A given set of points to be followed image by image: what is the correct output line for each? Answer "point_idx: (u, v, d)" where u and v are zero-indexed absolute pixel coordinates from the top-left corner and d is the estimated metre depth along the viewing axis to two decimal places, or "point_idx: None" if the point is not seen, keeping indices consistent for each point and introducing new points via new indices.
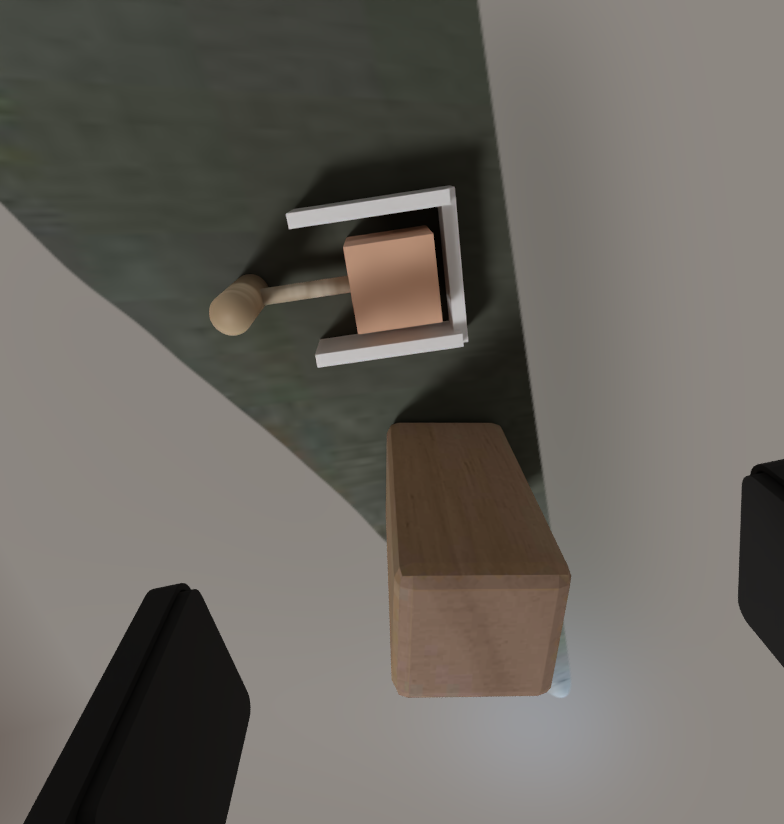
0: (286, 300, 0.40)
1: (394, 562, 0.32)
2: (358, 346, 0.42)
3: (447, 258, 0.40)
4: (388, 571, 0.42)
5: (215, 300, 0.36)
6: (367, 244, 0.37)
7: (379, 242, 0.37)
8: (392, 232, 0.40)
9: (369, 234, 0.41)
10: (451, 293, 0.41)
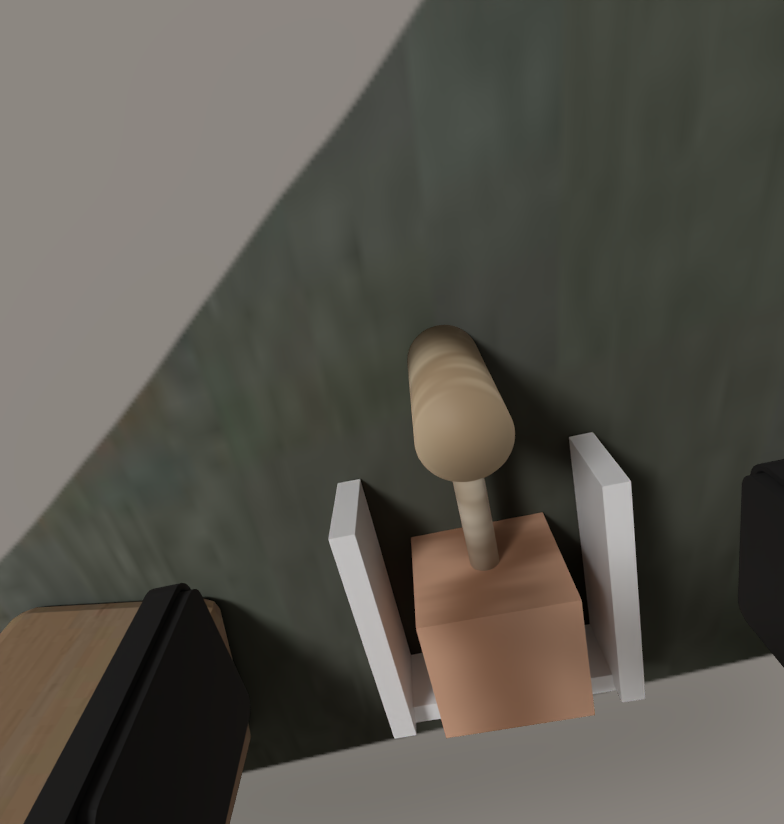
0: None
1: None
2: (375, 589, 0.22)
3: None
4: None
5: (499, 407, 0.15)
6: (583, 633, 0.20)
7: (585, 648, 0.21)
8: None
9: None
10: None
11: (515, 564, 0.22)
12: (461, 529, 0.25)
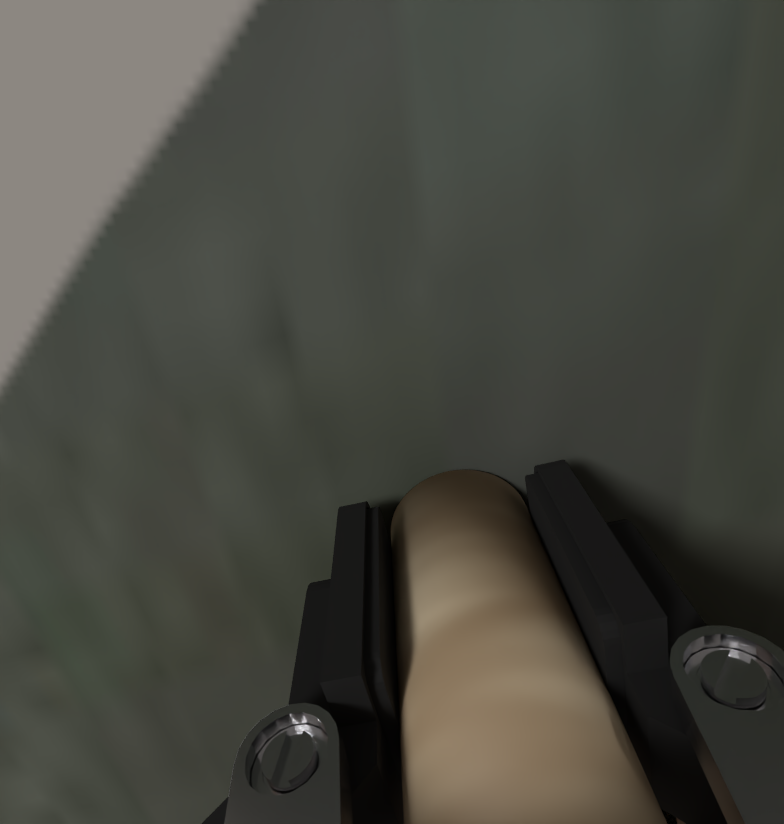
0: None
1: None
2: None
3: None
4: None
5: None
6: None
7: None
8: None
9: None
10: None
11: None
12: None
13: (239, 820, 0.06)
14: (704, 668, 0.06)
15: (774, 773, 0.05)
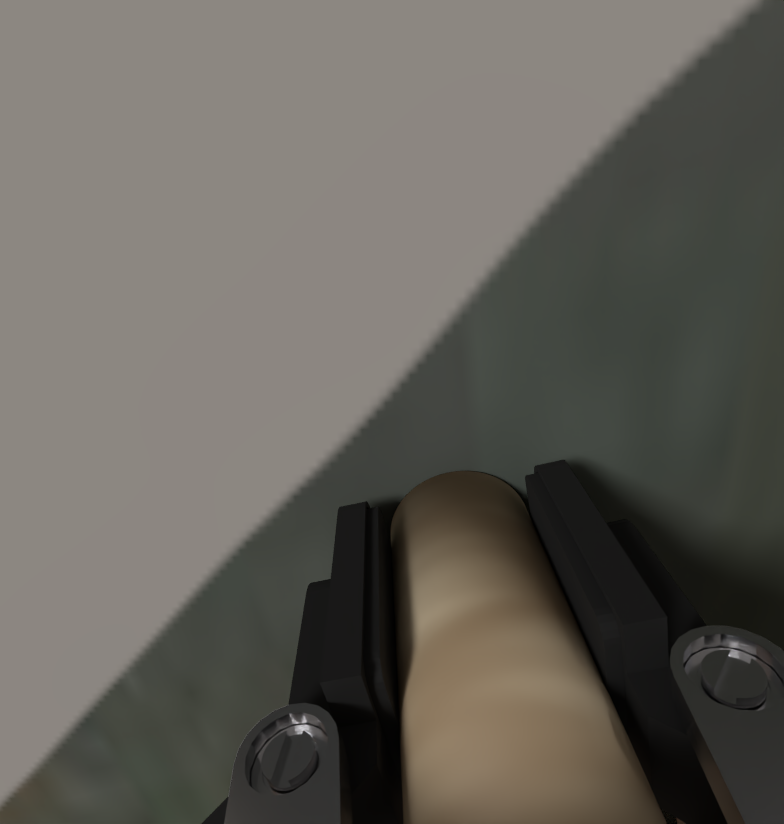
0: None
1: None
2: None
3: None
4: None
5: None
6: None
7: None
8: None
9: None
10: None
11: None
12: None
13: (239, 820, 0.06)
14: (704, 668, 0.06)
15: (774, 773, 0.05)
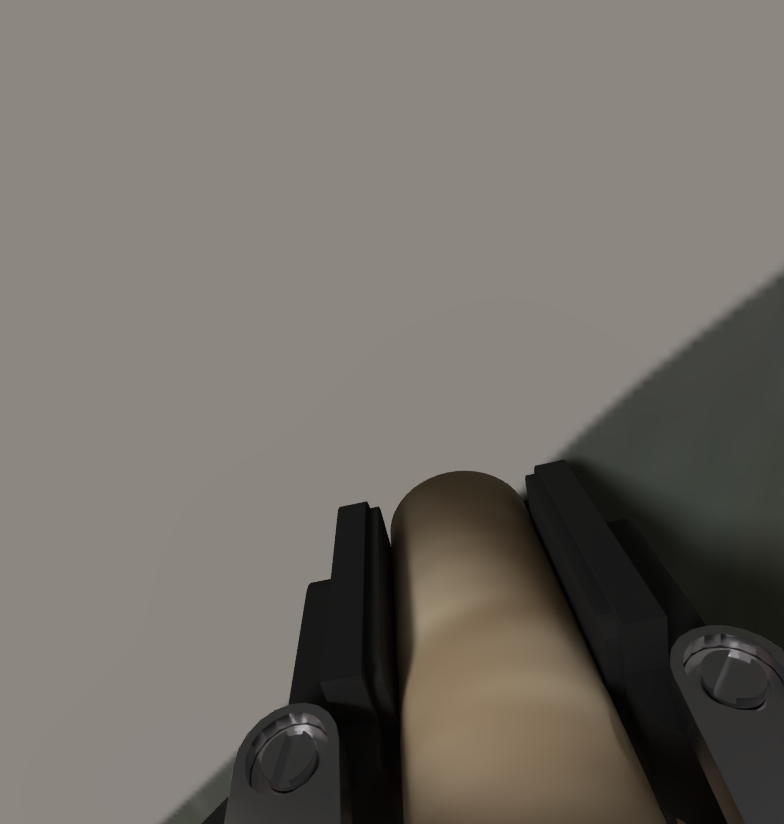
0: None
1: None
2: None
3: None
4: None
5: None
6: None
7: None
8: None
9: None
10: None
11: None
12: None
13: (239, 820, 0.06)
14: (704, 668, 0.06)
15: (774, 773, 0.05)
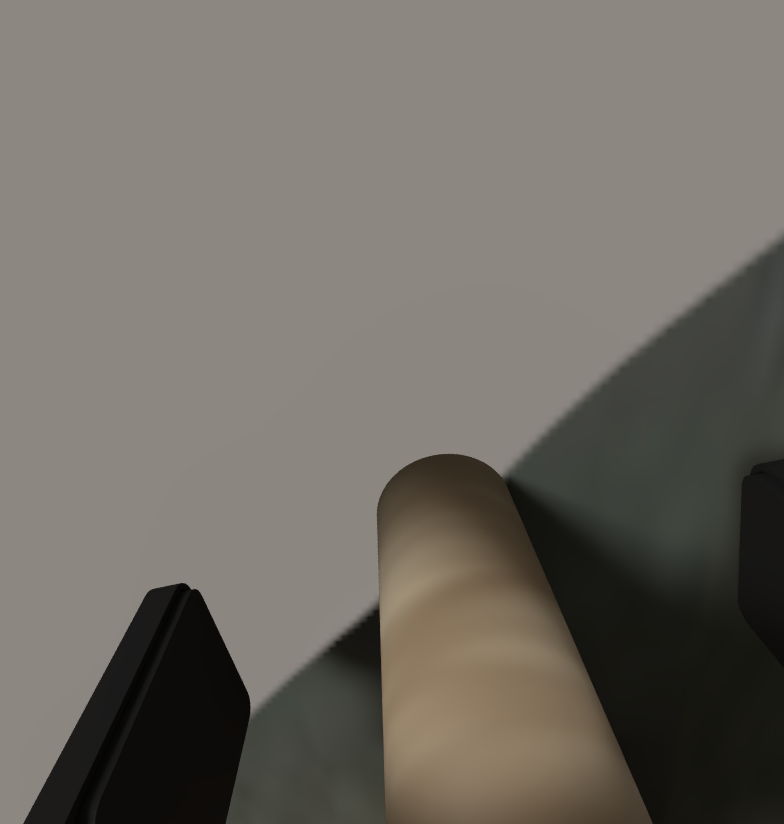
0: None
1: None
2: None
3: None
4: None
5: None
6: None
7: None
8: None
9: None
10: None
11: None
12: None
13: None
14: None
15: None
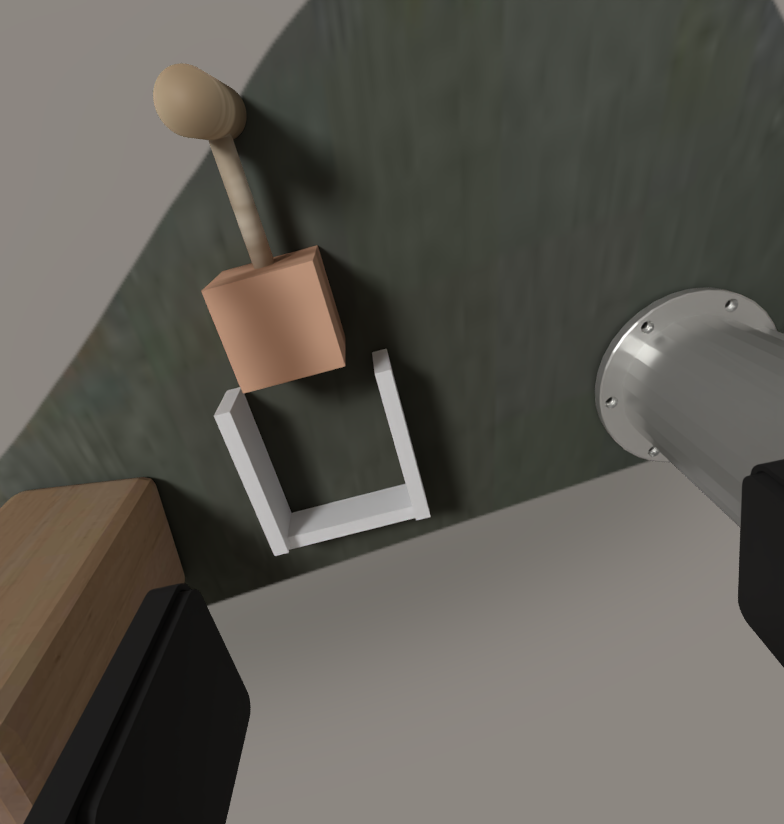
0: (223, 176, 0.29)
1: (1, 695, 0.23)
2: (250, 451, 0.35)
3: (362, 518, 0.38)
4: None
5: (204, 75, 0.24)
6: (320, 291, 0.29)
7: (325, 305, 0.30)
8: (333, 304, 0.34)
9: (325, 275, 0.34)
10: (327, 529, 0.38)
11: (282, 261, 0.31)
12: None
13: None
14: None
15: None
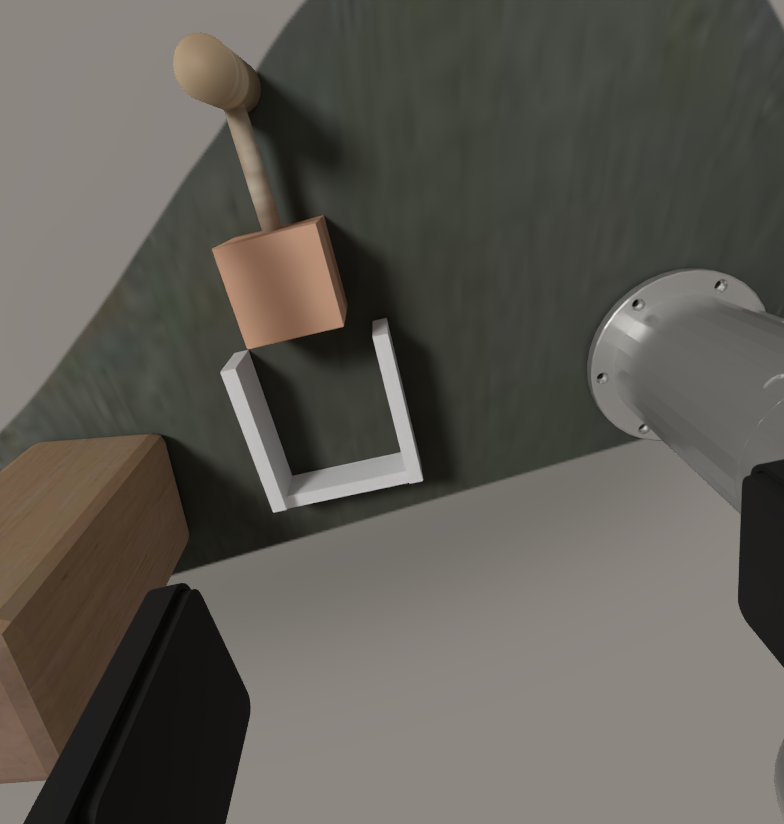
0: (236, 143, 0.31)
1: (12, 600, 0.25)
2: (253, 409, 0.37)
3: (357, 481, 0.40)
4: None
5: (219, 44, 0.26)
6: (322, 252, 0.31)
7: (326, 266, 0.32)
8: (336, 271, 0.36)
9: (330, 243, 0.36)
10: (324, 489, 0.40)
11: (289, 226, 0.33)
12: None
13: None
14: None
15: None
